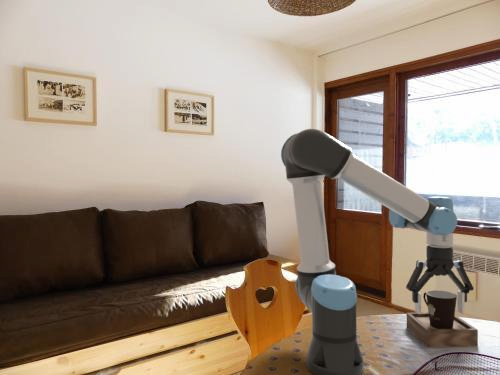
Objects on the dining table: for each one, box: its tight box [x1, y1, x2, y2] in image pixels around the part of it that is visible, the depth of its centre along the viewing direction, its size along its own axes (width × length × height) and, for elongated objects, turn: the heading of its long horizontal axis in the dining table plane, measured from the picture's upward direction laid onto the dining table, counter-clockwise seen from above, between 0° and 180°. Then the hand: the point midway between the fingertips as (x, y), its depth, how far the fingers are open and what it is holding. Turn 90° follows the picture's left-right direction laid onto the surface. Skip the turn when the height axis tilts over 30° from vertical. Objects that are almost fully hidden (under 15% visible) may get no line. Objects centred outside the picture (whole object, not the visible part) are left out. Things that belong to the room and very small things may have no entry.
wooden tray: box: [406, 311, 479, 348], centre depth 121 cm, size 15×15×5 cm
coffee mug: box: [422, 289, 457, 329], centre depth 121 cm, size 12×9×10 cm
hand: (439, 312), depth 121 cm, fingers open, 13 cm apart
